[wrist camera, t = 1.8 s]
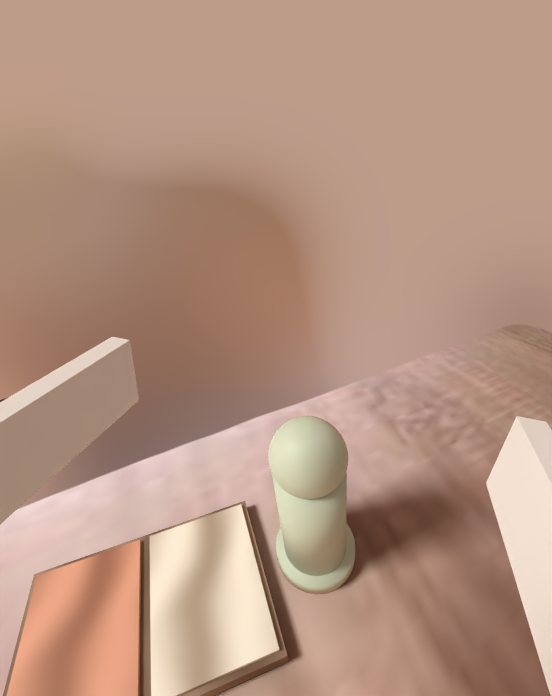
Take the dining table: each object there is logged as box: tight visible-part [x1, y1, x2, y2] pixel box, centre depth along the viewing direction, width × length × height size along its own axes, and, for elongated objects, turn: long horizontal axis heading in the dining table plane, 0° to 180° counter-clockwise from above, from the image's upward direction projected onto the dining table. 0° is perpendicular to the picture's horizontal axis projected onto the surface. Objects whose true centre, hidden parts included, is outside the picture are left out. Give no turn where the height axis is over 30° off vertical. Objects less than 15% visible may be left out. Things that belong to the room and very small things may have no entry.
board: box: [3, 501, 289, 696], centre depth 26 cm, size 18×12×1 cm, turn 108°
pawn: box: [268, 416, 355, 594], centre depth 26 cm, size 6×6×14 cm
